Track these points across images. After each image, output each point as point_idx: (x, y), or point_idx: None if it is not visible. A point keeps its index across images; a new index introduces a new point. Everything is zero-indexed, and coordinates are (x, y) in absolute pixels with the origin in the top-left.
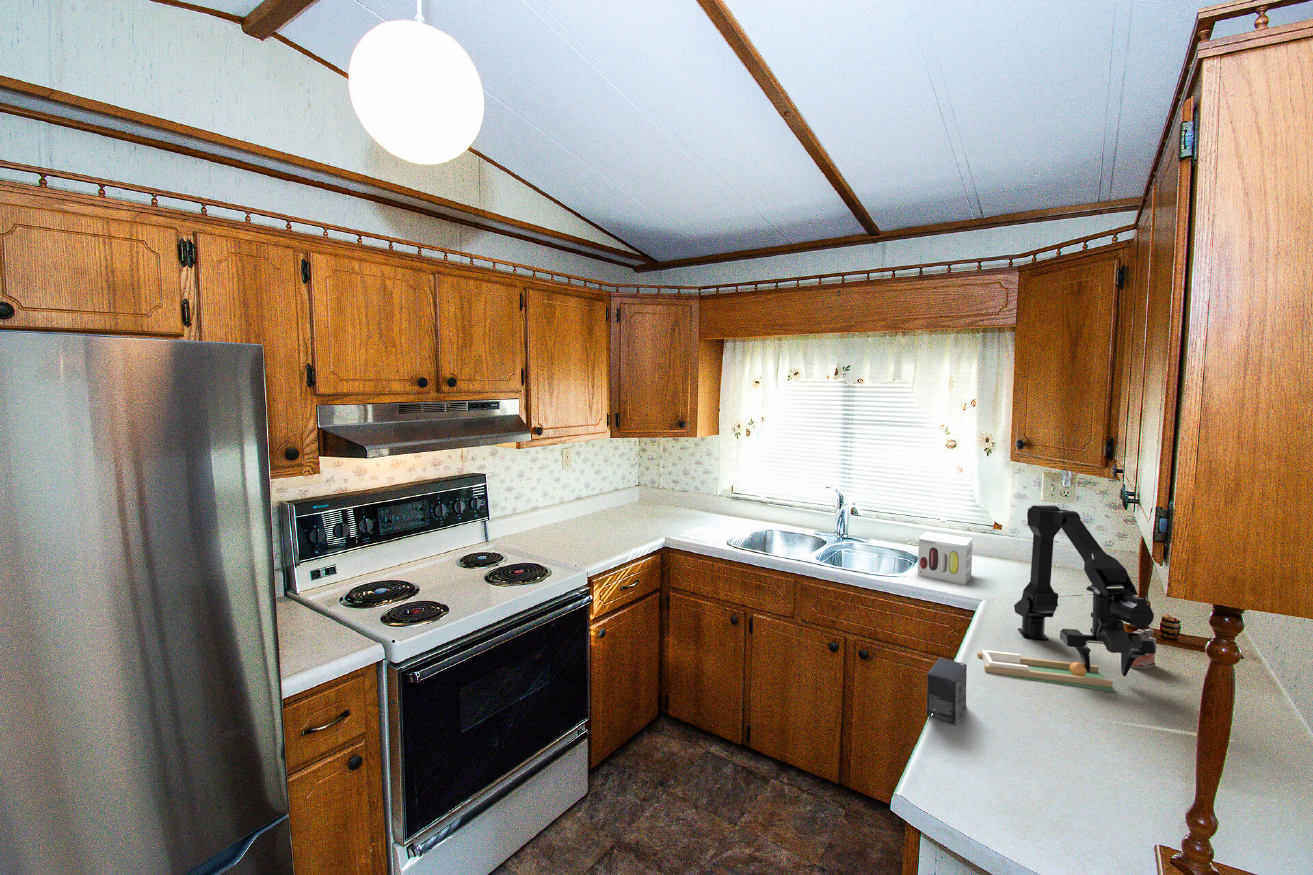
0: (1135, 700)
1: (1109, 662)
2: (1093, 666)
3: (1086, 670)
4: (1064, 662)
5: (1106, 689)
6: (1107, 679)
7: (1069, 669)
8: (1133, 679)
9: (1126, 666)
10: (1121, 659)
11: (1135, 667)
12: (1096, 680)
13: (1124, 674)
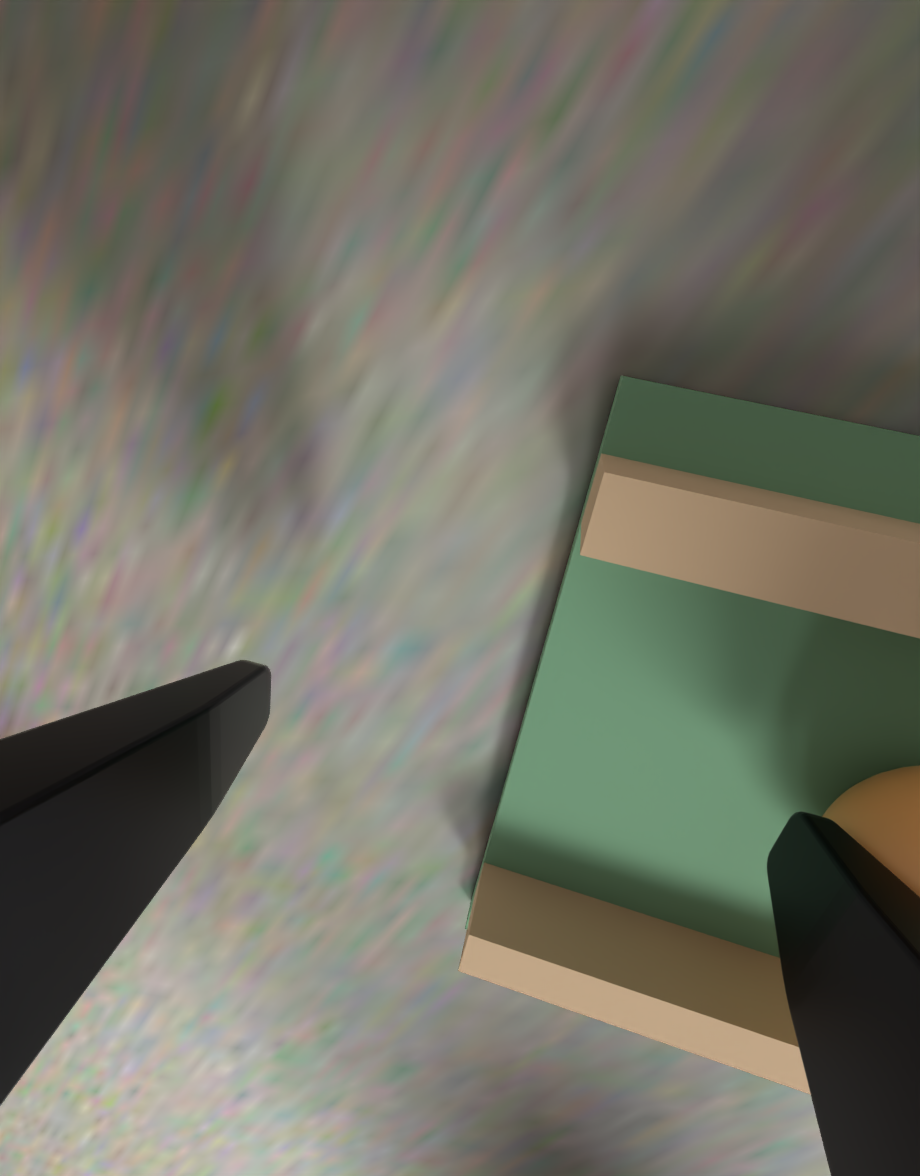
0: (458, 30)
1: (221, 1004)
2: (529, 958)
3: (891, 852)
4: None
5: (739, 404)
6: (643, 561)
7: None
8: None
9: (99, 753)
10: (74, 991)
11: None
12: (918, 535)
13: (249, 673)
